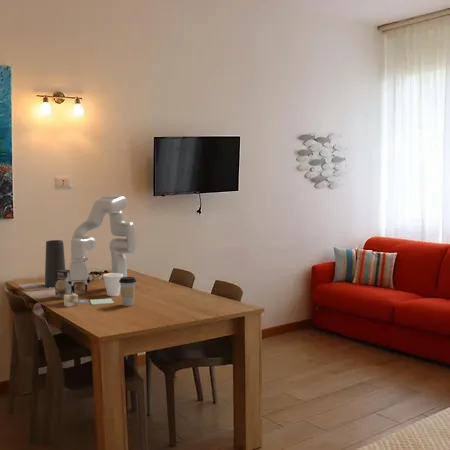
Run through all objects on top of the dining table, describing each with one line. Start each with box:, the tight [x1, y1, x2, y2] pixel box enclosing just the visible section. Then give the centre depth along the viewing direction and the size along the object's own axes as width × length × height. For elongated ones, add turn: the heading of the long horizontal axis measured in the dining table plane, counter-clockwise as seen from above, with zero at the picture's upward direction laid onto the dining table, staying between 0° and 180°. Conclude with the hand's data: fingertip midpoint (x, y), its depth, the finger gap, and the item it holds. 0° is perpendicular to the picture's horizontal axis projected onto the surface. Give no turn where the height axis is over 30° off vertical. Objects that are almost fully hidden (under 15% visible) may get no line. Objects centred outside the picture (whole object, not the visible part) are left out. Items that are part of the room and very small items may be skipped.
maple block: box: [63, 294, 79, 308], centre depth 333 cm, size 6×6×6 cm
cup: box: [102, 272, 123, 297], centre depth 360 cm, size 12×12×12 cm
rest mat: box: [89, 298, 115, 306], centre depth 341 cm, size 12×12×1 cm
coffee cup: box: [119, 276, 137, 307], centre depth 334 cm, size 9×9×15 cm
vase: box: [44, 239, 66, 288], centre depth 390 cm, size 14×14×29 cm
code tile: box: [78, 298, 90, 304], centre depth 343 cm, size 10×10×1 cm
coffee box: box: [54, 268, 74, 300], centre depth 353 cm, size 9×6×16 cm
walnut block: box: [74, 280, 86, 296], centre depth 343 cm, size 6×6×6 cm
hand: (79, 291), depth 343 cm, fingers closed on walnut block, 6 cm apart
